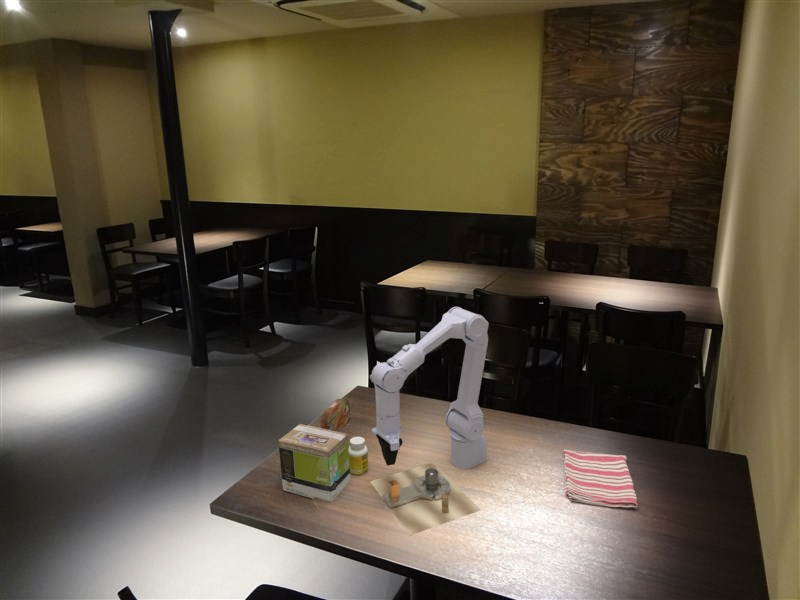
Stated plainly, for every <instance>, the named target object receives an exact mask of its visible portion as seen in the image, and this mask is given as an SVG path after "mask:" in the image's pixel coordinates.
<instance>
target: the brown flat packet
mask: <svg viewBox="0 0 800 600" xmlns="http://www.w3.org/2000/svg"><path fill="white" fill-rule="evenodd" d="M350 413H351V407H350V403H349V400H348V399H346V398H337V399H336V400H334V401H333V402H332V403H331V404H330V405H329V406H328V407H327V408H326V409H325V410H324V411H323V413H322V416H321V419H320V426H321V427H320V428H323V429H327V430H332V431H337V432H341V430H342V429H343V428H344V427H345V426H346V425H347V423H348V421H349V420H350V419H349V418H350Z"/></svg>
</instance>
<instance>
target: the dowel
mask: <svg viewBox="0 0 800 600" xmlns="http://www.w3.org/2000/svg"><path fill="white" fill-rule="evenodd" d="M442 512H443V513H448V512H449V496H448V495H442Z"/></svg>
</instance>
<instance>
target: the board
mask: <svg viewBox="0 0 800 600" xmlns="http://www.w3.org/2000/svg"><path fill="white" fill-rule="evenodd" d="M431 468H432V469H436V470H437V471H438V475H439V476H442V478H443V477H445V478H446V480H447V481H448V482H449V483H450V491H449V493H448V496H449V512H448V513H443V512H442V498H440V499H437V500H435V499H434V498H433V500H429V499H424V498H420V499H417V500H414V501H411V502H407V503H404V504H401V505H398V506H395V507H392V508H390V507H389V505H388V504H387V503H386V501H385V500H384V499H383V494H386V493H388V482H389V481H392V480H395V479H396V480H397V482H398V483H399V489H402V488H405V487H408V486H411V485H413V484H414V482H415V480H416V479H418V477H421V476H424V475H425V471H426V470H427V469H431ZM369 482H370V484H371V485H372V487H373V488H374V489H375V490H376V492H377V493H378V495H379V497H380V498H382V500H383V502H385V504H386V505H387V507H388V508H389V509H390V511H392V513H393V514H394V516H395V517H396V518H397V520H398V521H399V522H400V524H401V525H402V526H403V528H404V530H406V532H407V534H409V536H413V535H415V534H418V533H421V532H424V531H425V530H428V529H429V530H430V529H432V528H434V527H437V526H441V525H443V524H446V523H449V522H451V521H455V520H458V519H460V518H463V517H465V516H468V515H471V514H474V513H477V512H480V511H482V509H481V508H480V507H479V506H478V505H477V503H475V502H474V500H472V499H471V498H470V497H469V496H468V495H467V494H466V493H465V491H463V490H462V489H461V488H460V487H459V486H458V485H457V483H455V482H454V481H453V480H452V479H451V478H450V477H449V476H448V475H447V474H446V473H445V472H444V471H443V470H442V469H441V467H439V466H438V465H437V464H436V463H435V462H429V463H427V464H423V465H420V466H416V467H414V468H409V469H406V470H403V471H400V472H396V473H393V474H389V475H387V476H383V477H380V478H376V479H373V480H370V481H369ZM422 487H423V488H424V490H425V484H423V486H422ZM439 489H441V486H440V485H439V484H438V490H439Z"/></svg>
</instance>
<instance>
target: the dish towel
mask: <svg viewBox="0 0 800 600" xmlns="http://www.w3.org/2000/svg"><path fill="white" fill-rule="evenodd" d="M562 451H563V458H564V459H563V464H564V465H563V466H564V478H565V479H564V480H565V484H564V493H565V498H566V499H567V500H568V501H571V502H578V503H582V504H586V505H591V506H592V505H593V506H602V507H610V508H611V507H612V508H629V509H634V510H638V508H639V507H638V506H639V503H638V498H637V494H636V491H635V488H634V486H635V484H634V481H633V479H632V476H631V474H630V470H629V467H628V463H627V460H628V459H627V458H628V457H627V455H625V454H620V455H619V454H608V453H598V452H589V451H588V452H587V451H577V450H571V449H563V450H562Z"/></svg>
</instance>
